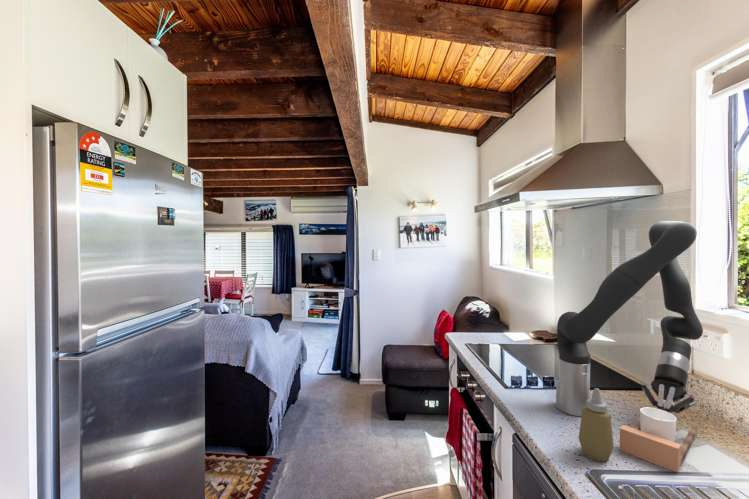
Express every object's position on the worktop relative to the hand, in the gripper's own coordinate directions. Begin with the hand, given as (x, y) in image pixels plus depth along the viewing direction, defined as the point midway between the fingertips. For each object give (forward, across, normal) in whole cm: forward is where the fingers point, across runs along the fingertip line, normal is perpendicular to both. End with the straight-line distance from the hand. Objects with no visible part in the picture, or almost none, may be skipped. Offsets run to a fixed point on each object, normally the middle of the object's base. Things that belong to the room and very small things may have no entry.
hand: (661, 421), depth 102 cm
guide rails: (+4, 0, +4) cm, 5 cm away
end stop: (+14, 0, -6) cm, 15 cm away
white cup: (+9, 0, -1) cm, 9 cm away
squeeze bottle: (+21, -9, -13) cm, 26 cm away
